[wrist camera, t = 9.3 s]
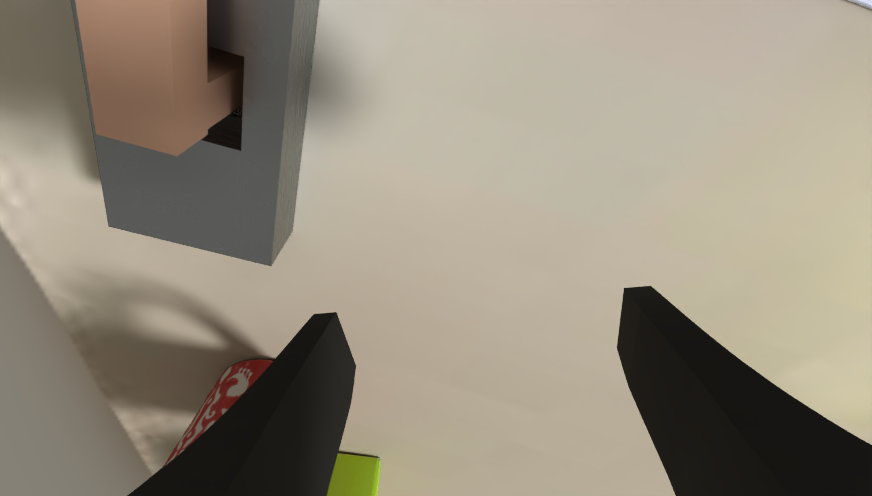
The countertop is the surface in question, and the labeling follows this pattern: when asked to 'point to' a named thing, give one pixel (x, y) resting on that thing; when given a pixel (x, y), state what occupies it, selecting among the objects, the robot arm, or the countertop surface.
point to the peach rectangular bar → (156, 72)
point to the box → (354, 476)
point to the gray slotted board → (225, 144)
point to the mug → (221, 399)
